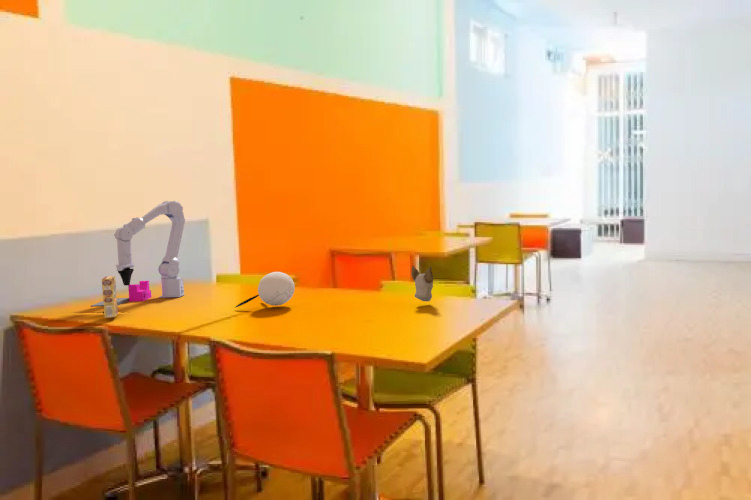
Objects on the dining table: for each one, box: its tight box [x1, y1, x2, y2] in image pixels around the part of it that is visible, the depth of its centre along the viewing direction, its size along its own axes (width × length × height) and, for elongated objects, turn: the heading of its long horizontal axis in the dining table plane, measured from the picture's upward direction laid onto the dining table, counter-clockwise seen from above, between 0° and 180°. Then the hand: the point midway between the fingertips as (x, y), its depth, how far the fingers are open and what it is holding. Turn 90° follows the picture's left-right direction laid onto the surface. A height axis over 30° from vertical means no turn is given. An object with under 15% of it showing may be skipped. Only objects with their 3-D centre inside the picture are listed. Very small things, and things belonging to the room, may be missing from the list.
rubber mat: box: [90, 297, 130, 307], centre depth 318 cm, size 11×20×1 cm, turn 177°
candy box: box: [101, 275, 119, 319], centre depth 282 cm, size 9×4×15 cm, turn 13°
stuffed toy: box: [235, 271, 295, 308], centre depth 295 cm, size 19×14×25 cm
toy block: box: [127, 280, 152, 302], centre depth 327 cm, size 15×6×8 cm, turn 177°
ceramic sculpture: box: [410, 265, 434, 302], centre depth 289 cm, size 11×9×15 cm
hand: (126, 285), depth 317 cm, fingers closed
